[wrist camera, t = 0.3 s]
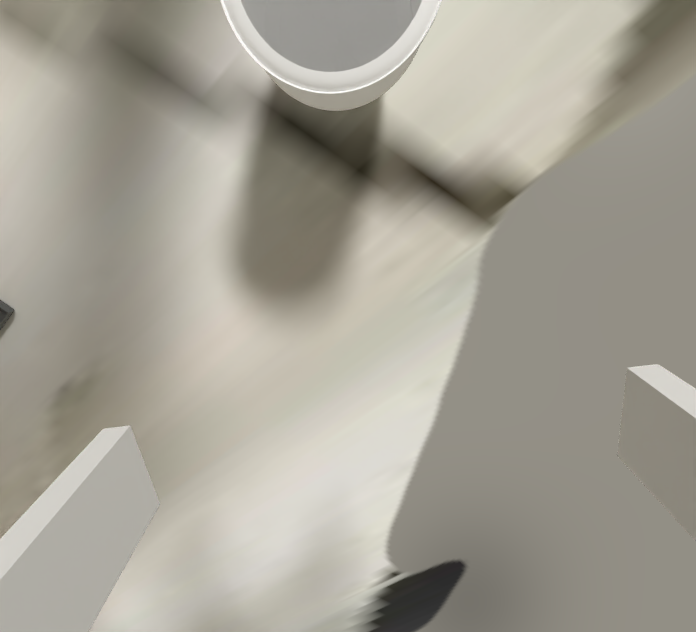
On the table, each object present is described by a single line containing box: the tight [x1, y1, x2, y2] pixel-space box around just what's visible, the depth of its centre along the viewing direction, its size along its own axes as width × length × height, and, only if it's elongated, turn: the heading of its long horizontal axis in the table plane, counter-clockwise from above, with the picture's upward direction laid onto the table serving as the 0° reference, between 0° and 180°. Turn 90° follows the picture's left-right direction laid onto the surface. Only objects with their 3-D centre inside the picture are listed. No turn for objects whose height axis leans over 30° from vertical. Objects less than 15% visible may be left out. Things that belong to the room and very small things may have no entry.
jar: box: [220, 0, 442, 111], centre depth 25 cm, size 11×10×15 cm
